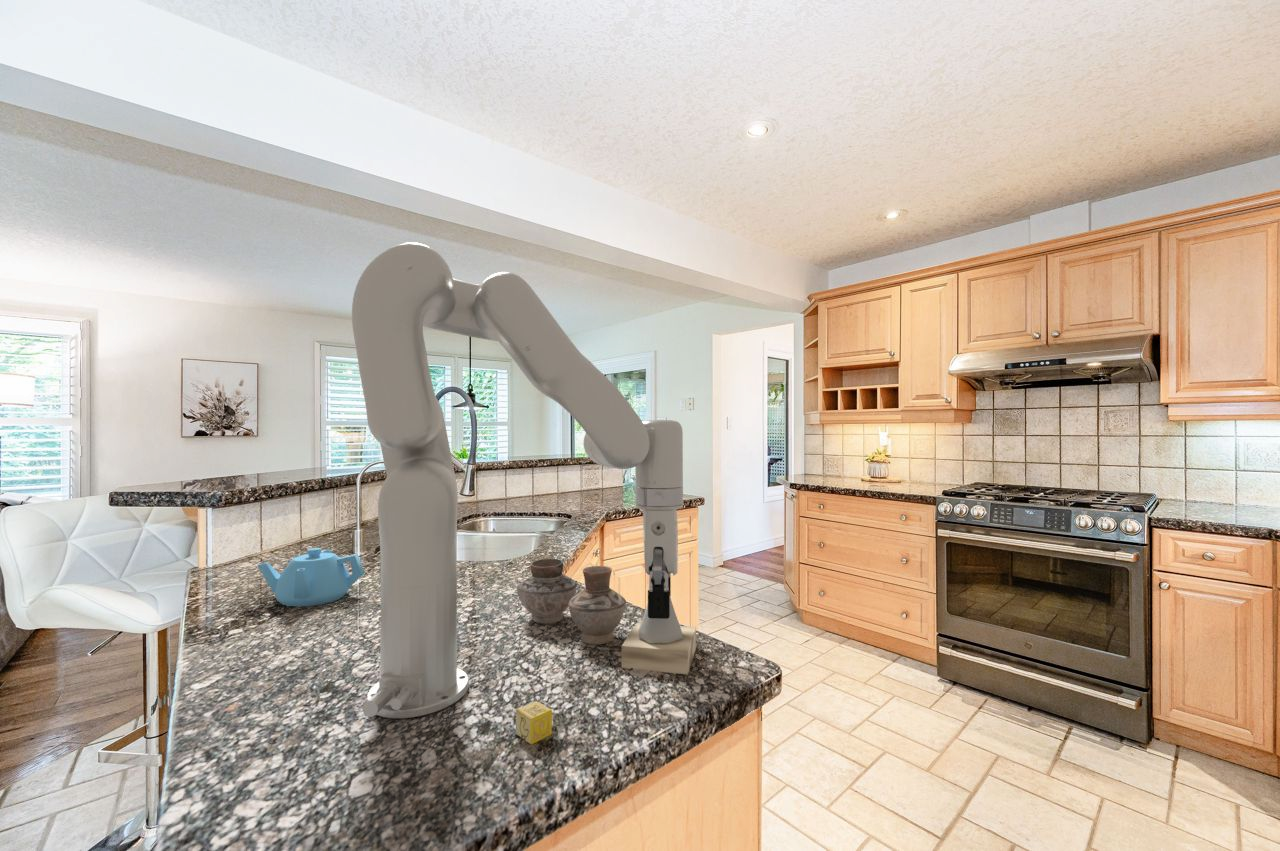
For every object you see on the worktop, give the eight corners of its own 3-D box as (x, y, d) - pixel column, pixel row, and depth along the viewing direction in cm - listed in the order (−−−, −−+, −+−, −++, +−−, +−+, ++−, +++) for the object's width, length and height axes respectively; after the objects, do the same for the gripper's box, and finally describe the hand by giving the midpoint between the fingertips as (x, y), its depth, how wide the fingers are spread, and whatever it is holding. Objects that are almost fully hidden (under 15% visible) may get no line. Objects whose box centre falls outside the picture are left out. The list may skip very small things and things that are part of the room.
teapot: (294, 615, 101) (295, 560, 102) (255, 603, 109) (255, 552, 109) (368, 594, 115) (368, 545, 115) (328, 585, 122) (329, 539, 122)
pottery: (592, 657, 82) (592, 581, 82) (505, 619, 99) (505, 556, 99) (641, 636, 90) (641, 567, 90) (553, 605, 107) (552, 547, 107)
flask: (631, 631, 84) (630, 568, 84) (672, 625, 86) (672, 564, 86) (647, 648, 77) (646, 580, 77) (691, 641, 79) (690, 575, 80)
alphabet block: (536, 724, 63) (536, 699, 63) (552, 734, 61) (552, 708, 61) (515, 735, 60) (515, 709, 61) (530, 746, 58) (530, 718, 58)
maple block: (687, 679, 75) (687, 651, 76) (621, 672, 78) (621, 645, 78) (696, 651, 85) (696, 627, 85) (637, 646, 88) (637, 622, 88)
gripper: (683, 505, 73) (684, 627, 73) (682, 492, 90) (683, 590, 90) (630, 505, 74) (631, 626, 73) (639, 492, 91) (640, 590, 91)
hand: (659, 606), depth 82 cm, fingers open, 9 cm apart
